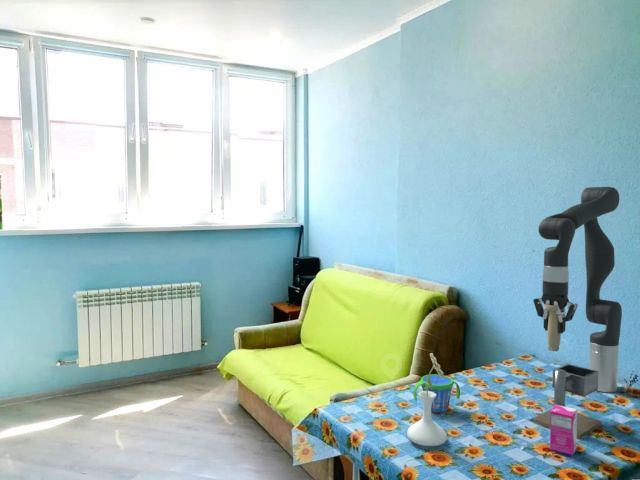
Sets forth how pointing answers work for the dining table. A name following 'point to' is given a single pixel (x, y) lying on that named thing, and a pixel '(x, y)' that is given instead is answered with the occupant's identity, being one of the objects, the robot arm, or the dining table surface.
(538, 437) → the dining table surface
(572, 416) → the supplement box
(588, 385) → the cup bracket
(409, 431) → the flower in vase
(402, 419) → the dining table surface
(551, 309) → the handle
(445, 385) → the snack cup
